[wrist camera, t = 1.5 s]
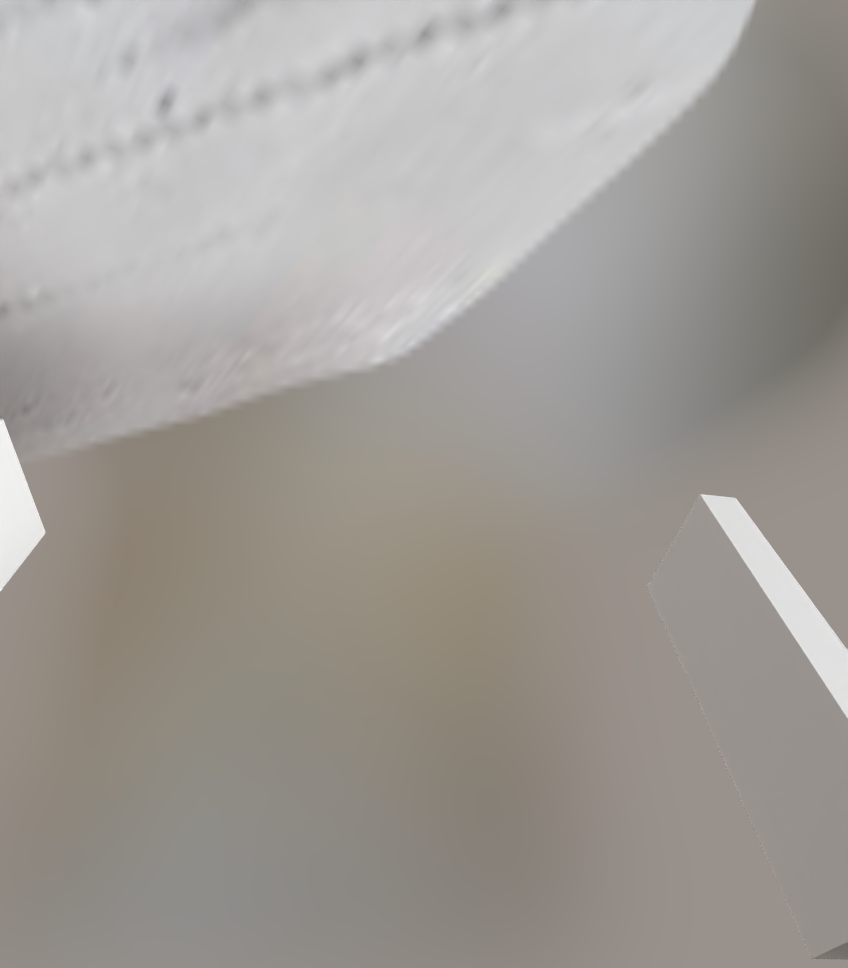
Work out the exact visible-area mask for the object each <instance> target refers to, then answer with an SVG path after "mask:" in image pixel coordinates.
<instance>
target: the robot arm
mask: <svg viewBox="0 0 848 968" xmlns="http://www.w3.org/2000/svg"><path fill="white" fill-rule="evenodd" d="M45 533H46V532H45V530H44V527H43V525H42V522H41V519H40V516H39V514H38V511H37V508H36V506H35V503H34V500H33V498H32V495H31V492H30V490H29V487H28V484H27V482H26V479H25V476H24V474H23V471H22V468H21V465H20V463H19V460H18V457H17V455H16V452H15V449H14V447H13V444H12V441H11V439H10V436H9V433H8V431H7V428H6V425H5V423H4V420H3V419H0V591H1V590H2V588H3V587H4V586H5V585H6V583H7V582H8V580H10V578H11V577H12V576H13V574H14V573H15V571H17V569H18V568H19V567H20V565H21V564H22V563H23V561H24V560H25V559H26V558H27V556H28V555H29V554H30V552H31V551H32V550H33V548H34V547H35V546H36V545H37V543H38V542H39V541H40V539H41V538H42V537H43V536H44V534H45ZM647 588H648V590H649V592H650V594H651V597H652V599H653V601H654V604H655V606H656V608H657V610H658V612H659V615H660V617H661V619H662V622H663V624H664V626H665V628H666V631H667V633H668V635H669V638H670V640H671V642H672V644H673V646H674V649H675V651H676V653H677V656H678V658H679V660H680V662H681V665H682V667H683V669H684V671H685V673H686V676H687V678H688V680H689V683H690V685H691V687H692V689H693V692H694V694H695V696H696V699H697V701H698V703H699V705H700V708H701V710H702V712H703V714H704V716H705V719H706V721H707V723H708V726H709V728H710V730H711V733H712V735H713V737H714V739H715V742H716V743H717V746H718V748H719V751H720V753H721V755H722V757H723V760H724V762H725V764H726V766H727V768H728V771H729V773H730V775H731V778H732V780H733V782H734V784H735V787H736V789H737V791H738V794H739V796H740V798H741V800H742V803H743V805H744V807H745V809H746V812H747V813H748V816H749V818H750V821H751V823H752V825H753V827H754V830H755V832H756V834H757V836H758V839H759V841H760V843H761V845H762V848H763V850H764V852H765V855H766V857H767V859H768V861H769V864H770V866H771V868H772V870H773V873H774V875H775V877H776V879H777V881H778V884H779V886H780V889H781V891H782V893H783V895H784V898H785V900H786V902H787V904H788V907H789V909H790V911H791V913H792V916H793V918H794V920H795V922H796V925H797V927H798V929H799V931H800V934H801V936H802V938H803V941H804V943H805V945H806V947H807V949H808V952H809V954H810V956H811V958H812V959H848V650H847V649H846V648H845V646H844V645H843V644H842V642H841V641H840V640H839V638H838V637H837V635H836V634H835V633H834V631H833V630H832V629H831V627H830V626H829V624H828V623H827V622H826V621H825V619H824V618H823V616H822V615H821V614H820V612H819V611H818V609H817V608H816V607H815V605H814V604H813V603H812V601H811V600H810V599H809V597H808V596H807V595H806V593H805V592H804V590H803V589H802V588H801V586H800V585H799V584H798V582H797V581H796V580H795V578H794V577H793V576H792V574H791V573H790V571H789V570H788V569H787V567H786V566H785V565H784V563H783V562H782V561H781V559H780V558H779V556H778V555H777V554H776V552H775V551H774V550H773V548H772V547H771V546H770V544H769V543H768V541H767V540H766V539H765V537H764V536H763V535H762V533H761V532H760V531H759V529H758V528H757V526H756V525H755V524H754V522H753V521H752V520H751V518H750V517H749V516H748V514H747V513H746V511H745V510H744V509H743V507H742V506H741V505H740V503H739V502H738V500H737V499H736V498H730V497H721V496H712V495H703V494H700V495H699V497H698V499H697V500H696V502H695V504H694V506H693V507H692V509H691V511H690V513H689V514H688V516H687V518H686V520H685V521H684V523H683V525H682V527H681V528H680V530H679V532H678V534H677V535H676V537H675V539H674V540H673V542H672V544H671V546H670V547H669V549H668V551H667V553H666V554H665V556H664V558H663V560H662V561H661V563H660V565H659V567H658V568H657V570H656V572H655V574H654V576H653V577H652V579H651V581H650V582H649V584H648V586H647Z"/></svg>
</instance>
